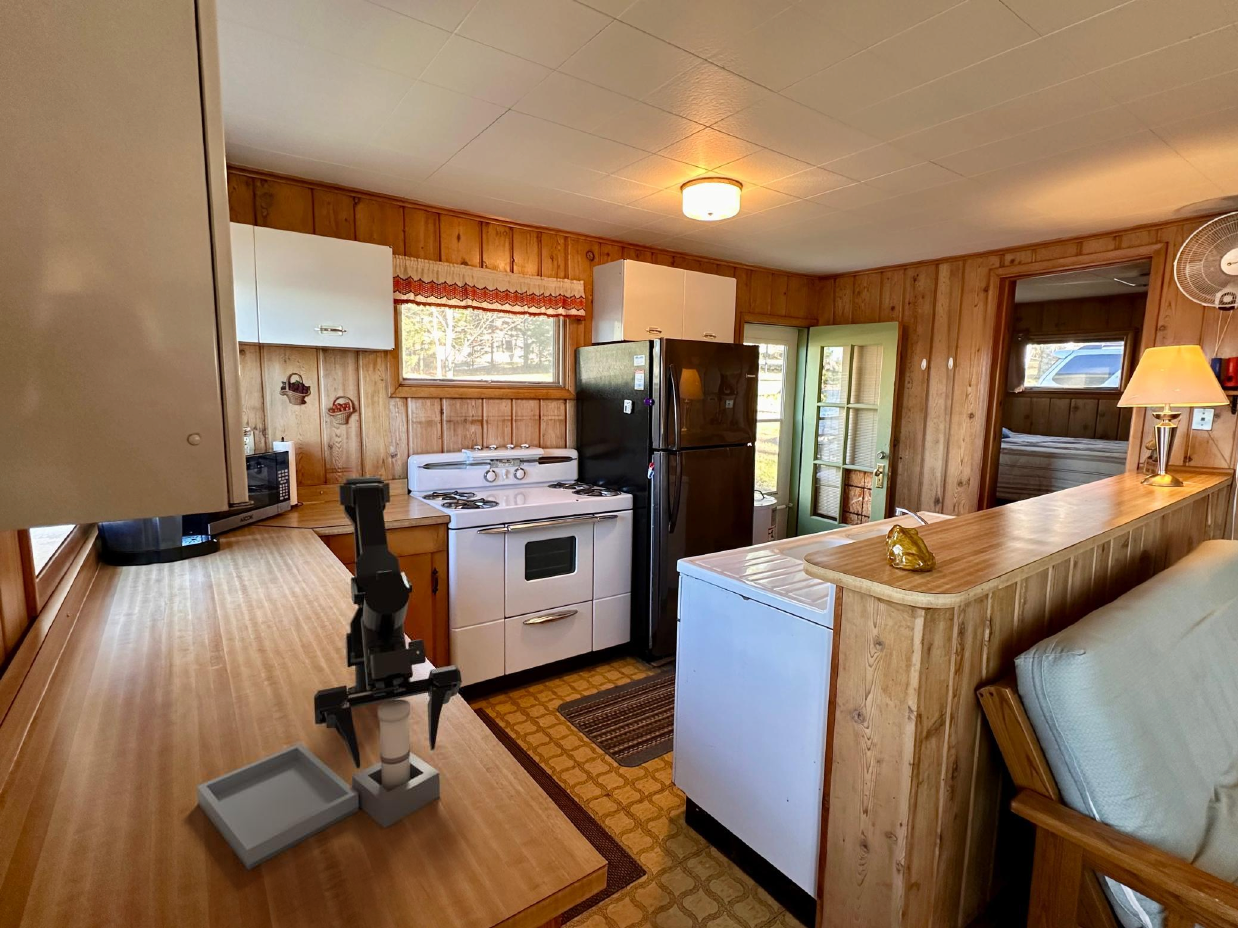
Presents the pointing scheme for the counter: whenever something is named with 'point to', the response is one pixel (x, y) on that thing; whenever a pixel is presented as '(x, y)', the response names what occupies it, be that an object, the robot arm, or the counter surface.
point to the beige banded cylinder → (394, 743)
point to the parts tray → (276, 803)
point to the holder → (396, 792)
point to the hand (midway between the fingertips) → (396, 758)
